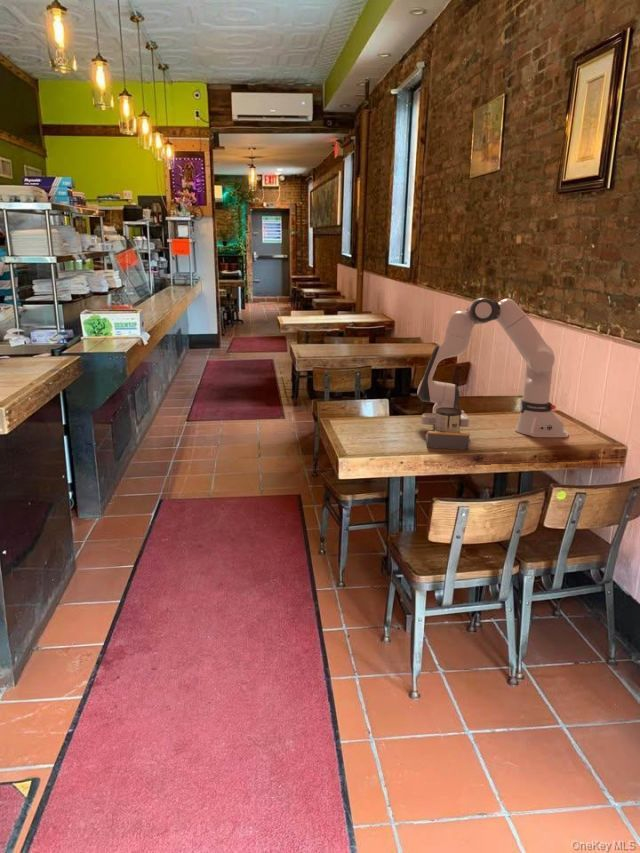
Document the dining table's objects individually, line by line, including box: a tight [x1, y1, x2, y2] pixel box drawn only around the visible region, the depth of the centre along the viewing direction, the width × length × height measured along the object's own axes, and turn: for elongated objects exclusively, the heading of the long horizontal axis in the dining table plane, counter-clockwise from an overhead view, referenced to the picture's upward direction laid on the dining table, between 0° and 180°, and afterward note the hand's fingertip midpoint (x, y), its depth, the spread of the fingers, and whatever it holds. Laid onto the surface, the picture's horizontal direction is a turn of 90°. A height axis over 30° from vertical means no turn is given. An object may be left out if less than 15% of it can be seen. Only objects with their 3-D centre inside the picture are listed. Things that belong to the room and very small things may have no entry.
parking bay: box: [425, 430, 470, 451], centre depth 259 cm, size 16×13×7 cm
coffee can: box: [434, 407, 463, 433], centre depth 259 cm, size 10×10×14 cm
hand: (446, 424), depth 264 cm, fingers closed, pressing on coffee can
